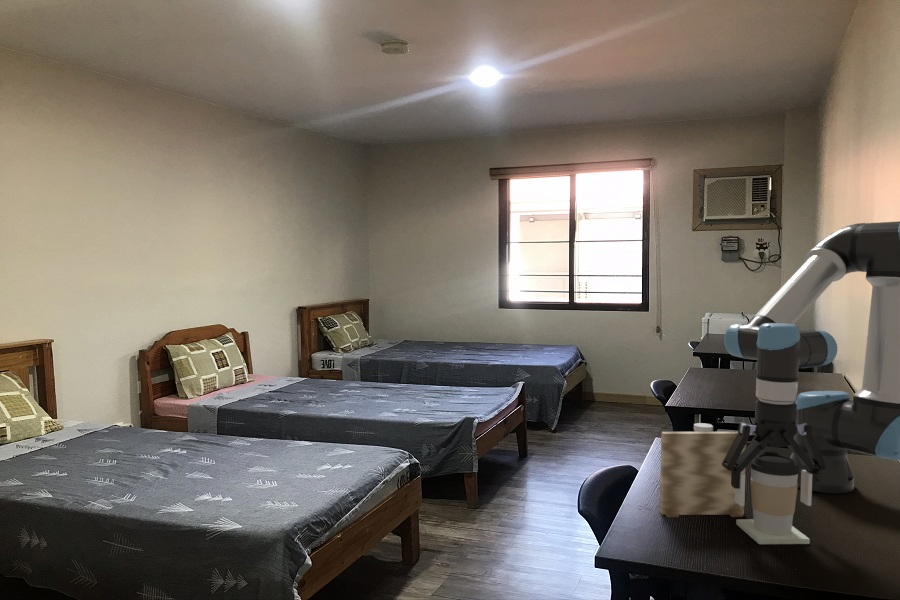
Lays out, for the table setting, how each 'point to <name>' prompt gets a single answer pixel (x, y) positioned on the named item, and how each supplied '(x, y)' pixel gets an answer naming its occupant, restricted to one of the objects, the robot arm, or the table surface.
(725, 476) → the screen
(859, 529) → the table surface
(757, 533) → the mat
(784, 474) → the coffee cup
